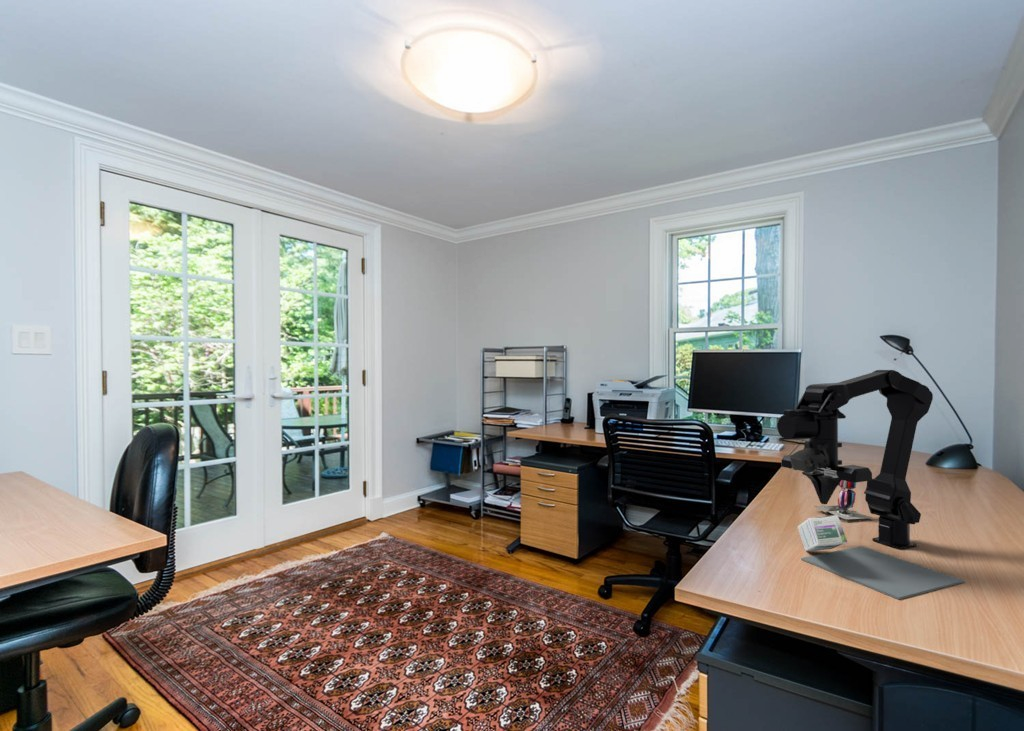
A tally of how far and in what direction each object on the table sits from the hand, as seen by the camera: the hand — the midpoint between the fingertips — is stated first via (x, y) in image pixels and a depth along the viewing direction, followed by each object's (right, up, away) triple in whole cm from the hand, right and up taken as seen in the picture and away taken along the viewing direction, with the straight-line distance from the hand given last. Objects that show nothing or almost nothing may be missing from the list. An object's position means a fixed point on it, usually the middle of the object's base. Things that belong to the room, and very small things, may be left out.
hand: (823, 503), depth 114 cm
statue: (+22, -11, +26) cm, 36 cm away
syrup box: (-2, -8, +1) cm, 8 cm away
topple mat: (+4, -11, -11) cm, 16 cm away
